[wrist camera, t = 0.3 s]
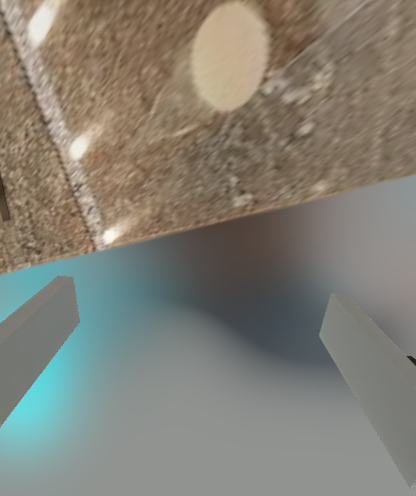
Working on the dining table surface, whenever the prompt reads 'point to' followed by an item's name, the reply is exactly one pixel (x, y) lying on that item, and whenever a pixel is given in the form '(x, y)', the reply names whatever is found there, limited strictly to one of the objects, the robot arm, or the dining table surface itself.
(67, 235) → the dining table surface
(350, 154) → the dining table surface
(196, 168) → the dining table surface
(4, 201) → the notched wooden cradle
